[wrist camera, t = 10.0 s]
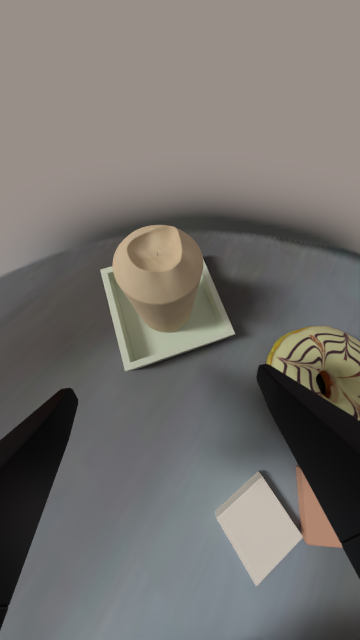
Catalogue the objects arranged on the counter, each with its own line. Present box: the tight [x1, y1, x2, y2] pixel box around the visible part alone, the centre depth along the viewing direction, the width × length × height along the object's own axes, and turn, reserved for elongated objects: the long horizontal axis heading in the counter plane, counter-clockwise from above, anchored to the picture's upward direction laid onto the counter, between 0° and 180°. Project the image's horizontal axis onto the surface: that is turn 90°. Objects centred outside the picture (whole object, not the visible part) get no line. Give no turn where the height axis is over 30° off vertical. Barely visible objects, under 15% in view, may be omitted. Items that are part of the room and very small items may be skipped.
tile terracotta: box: [296, 466, 343, 548], centre depth 15 cm, size 5×5×1 cm
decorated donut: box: [266, 326, 360, 420], centre depth 16 cm, size 10×11×4 cm
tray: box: [100, 260, 235, 371], centre depth 18 cm, size 11×11×2 cm
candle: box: [113, 225, 203, 333], centre depth 14 cm, size 6×6×10 cm
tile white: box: [215, 471, 303, 586], centre depth 14 cm, size 5×5×1 cm
